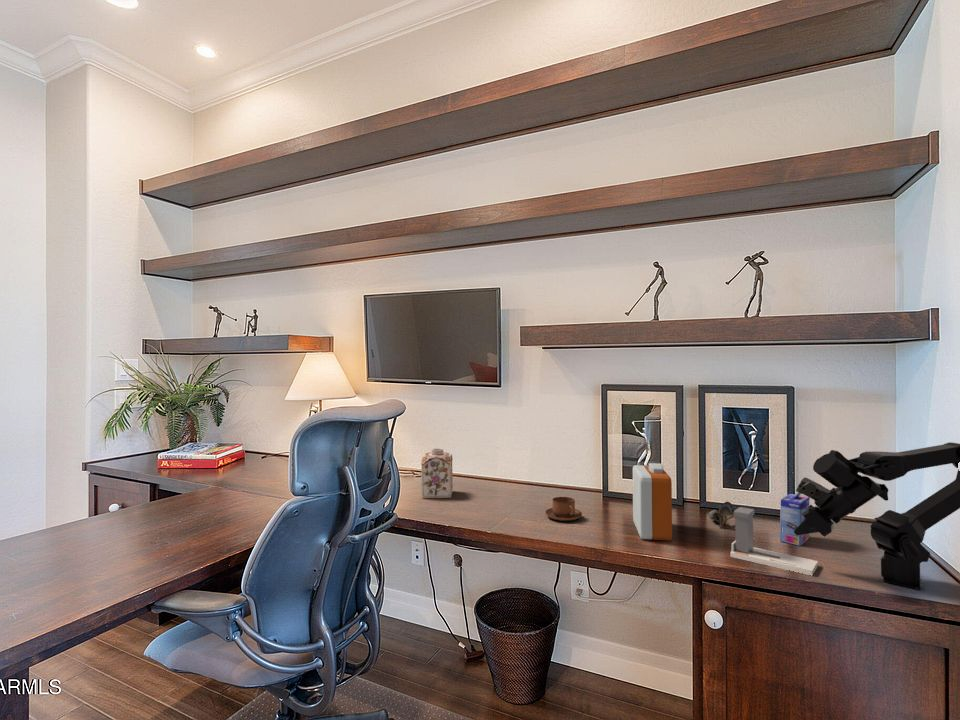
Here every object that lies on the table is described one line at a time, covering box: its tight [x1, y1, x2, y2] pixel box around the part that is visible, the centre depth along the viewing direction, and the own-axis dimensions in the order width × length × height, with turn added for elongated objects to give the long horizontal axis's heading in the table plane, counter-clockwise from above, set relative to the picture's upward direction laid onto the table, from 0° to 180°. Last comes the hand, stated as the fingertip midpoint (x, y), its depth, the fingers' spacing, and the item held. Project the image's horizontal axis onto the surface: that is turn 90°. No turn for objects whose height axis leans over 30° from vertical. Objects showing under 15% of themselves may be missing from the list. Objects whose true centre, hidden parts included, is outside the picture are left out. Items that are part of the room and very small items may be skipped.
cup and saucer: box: [545, 496, 583, 522], centre depth 164 cm, size 12×12×6 cm
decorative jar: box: [420, 447, 454, 499], centre depth 195 cm, size 12×12×18 cm
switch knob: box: [733, 506, 755, 553], centre depth 131 cm, size 4×6×10 cm, turn 138°
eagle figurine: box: [708, 501, 735, 529], centre depth 157 cm, size 8×8×10 cm
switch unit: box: [730, 539, 819, 577], centre depth 127 cm, size 18×8×3 cm, turn 47°
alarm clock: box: [632, 462, 673, 541], centre depth 151 cm, size 18×9×21 cm, turn 170°
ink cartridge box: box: [779, 492, 811, 547], centre depth 142 cm, size 10×6×14 cm, turn 135°
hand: (795, 533), depth 124 cm, fingers closed
